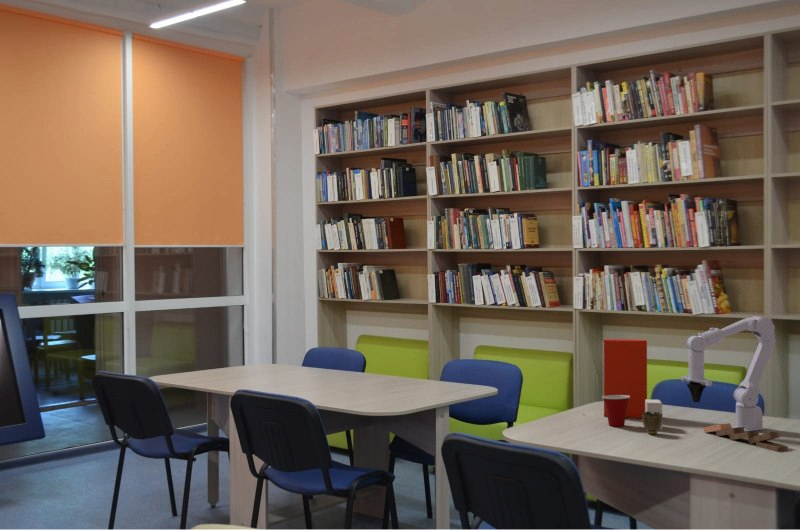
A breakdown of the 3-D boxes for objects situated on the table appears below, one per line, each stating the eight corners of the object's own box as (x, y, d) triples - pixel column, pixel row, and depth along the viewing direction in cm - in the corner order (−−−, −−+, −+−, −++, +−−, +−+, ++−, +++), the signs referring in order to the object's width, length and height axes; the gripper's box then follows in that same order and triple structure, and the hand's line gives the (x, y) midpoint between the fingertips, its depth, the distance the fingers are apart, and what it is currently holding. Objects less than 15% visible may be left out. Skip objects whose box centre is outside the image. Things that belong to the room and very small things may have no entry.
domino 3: (739, 433, 297) (757, 430, 289) (740, 438, 296) (759, 436, 288) (728, 434, 295) (747, 431, 287) (730, 440, 294) (748, 437, 286)
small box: (662, 430, 311) (662, 403, 311) (647, 429, 312) (647, 402, 312) (659, 426, 319) (659, 399, 319) (645, 425, 320) (645, 399, 320)
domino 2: (726, 429, 303) (743, 426, 295) (727, 435, 302) (744, 432, 294) (715, 430, 301) (733, 428, 293) (716, 436, 301) (734, 433, 293)
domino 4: (757, 437, 290) (778, 431, 283) (758, 442, 289) (780, 437, 282) (748, 438, 288) (769, 432, 280) (749, 443, 287) (771, 438, 280)
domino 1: (713, 426, 309) (730, 423, 301) (714, 431, 308) (731, 428, 300) (703, 427, 307) (720, 424, 299) (704, 432, 306) (721, 429, 299)
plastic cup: (615, 421, 328) (615, 392, 327) (636, 426, 318) (636, 396, 318) (596, 424, 322) (596, 394, 322) (616, 429, 313) (616, 398, 312)
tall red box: (604, 413, 346) (604, 338, 346) (646, 415, 342) (646, 339, 341) (604, 416, 338) (603, 340, 338) (647, 418, 334) (646, 341, 334)
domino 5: (766, 440, 286) (787, 446, 278) (766, 446, 286) (787, 451, 278) (755, 442, 284) (777, 447, 276) (755, 447, 284) (777, 453, 276)
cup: (663, 433, 306) (663, 411, 306) (661, 436, 300) (661, 415, 299) (643, 431, 309) (643, 410, 309) (640, 435, 303) (640, 413, 303)
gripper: (675, 365, 319) (675, 399, 319) (701, 369, 305) (701, 405, 305) (689, 364, 321) (689, 398, 321) (716, 368, 308) (716, 404, 308)
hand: (696, 402), depth 314 cm, fingers closed
